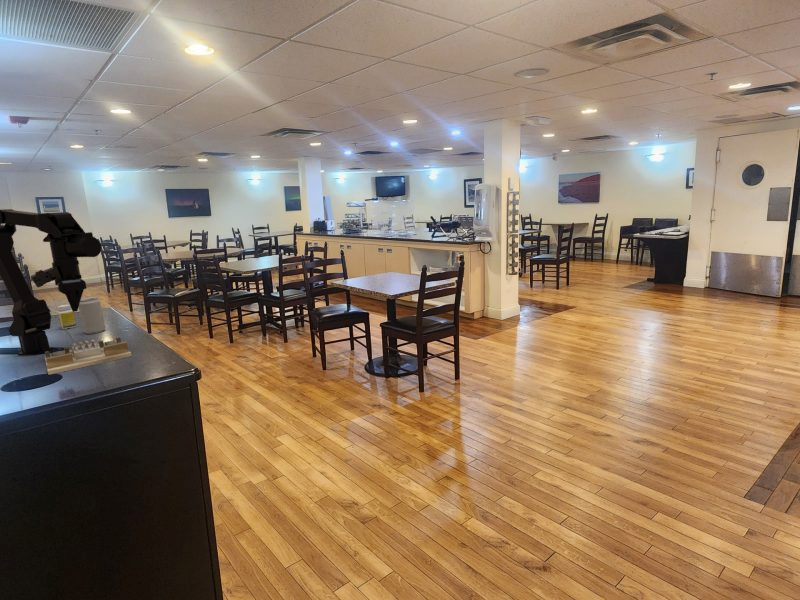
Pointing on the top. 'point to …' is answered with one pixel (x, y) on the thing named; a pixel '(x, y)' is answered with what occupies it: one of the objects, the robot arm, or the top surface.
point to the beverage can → (91, 315)
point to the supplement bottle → (66, 317)
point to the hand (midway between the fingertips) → (75, 311)
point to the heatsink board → (87, 361)
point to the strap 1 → (57, 353)
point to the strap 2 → (110, 342)
